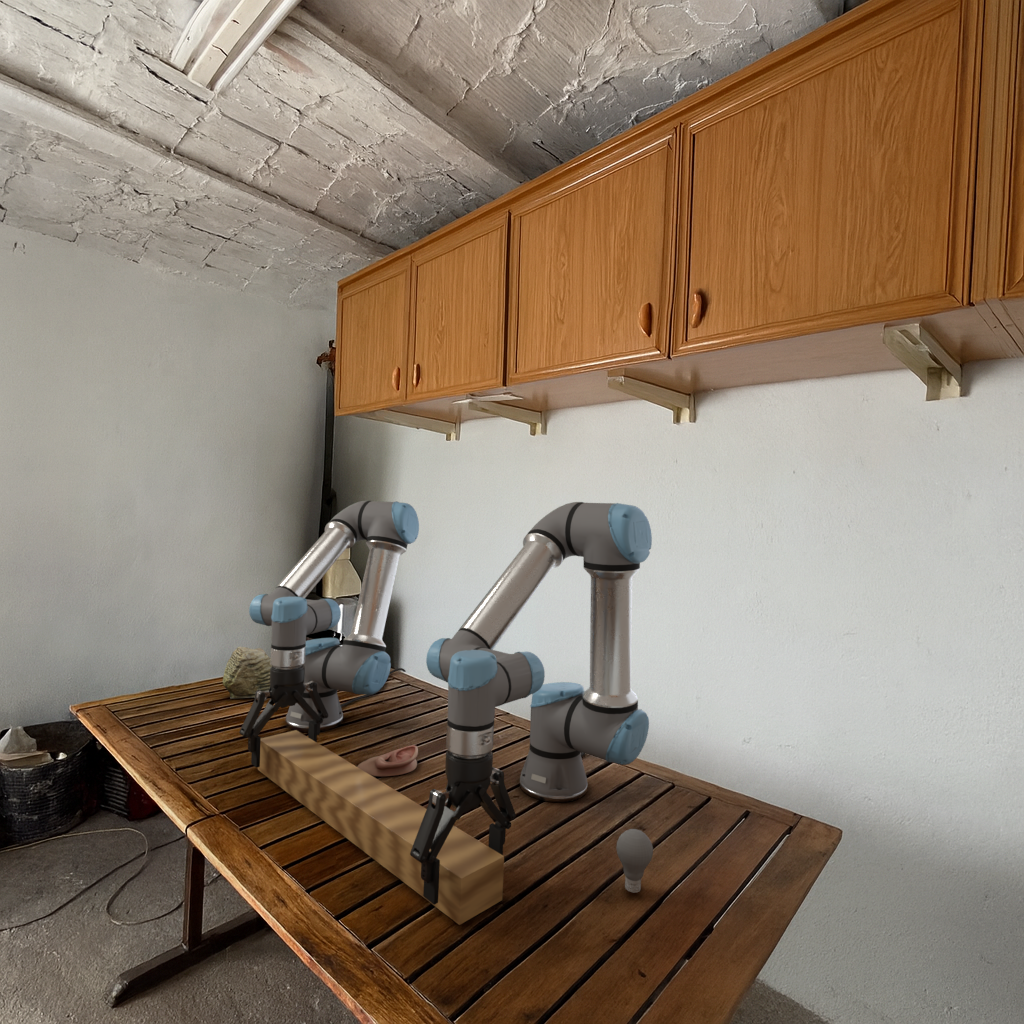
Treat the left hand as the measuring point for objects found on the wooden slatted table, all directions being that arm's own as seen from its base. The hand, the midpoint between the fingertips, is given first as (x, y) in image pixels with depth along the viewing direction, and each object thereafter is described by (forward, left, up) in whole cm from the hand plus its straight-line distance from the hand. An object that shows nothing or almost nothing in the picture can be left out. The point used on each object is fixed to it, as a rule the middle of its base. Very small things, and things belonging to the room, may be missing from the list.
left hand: (284, 757), depth 146 cm
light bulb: (-14, +82, -3) cm, 83 cm away
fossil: (-23, -55, -3) cm, 60 cm away
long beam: (+3, +31, -3) cm, 32 cm away
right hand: (+7, +63, 0) cm, 63 cm away
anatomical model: (-17, +16, -3) cm, 24 cm away
